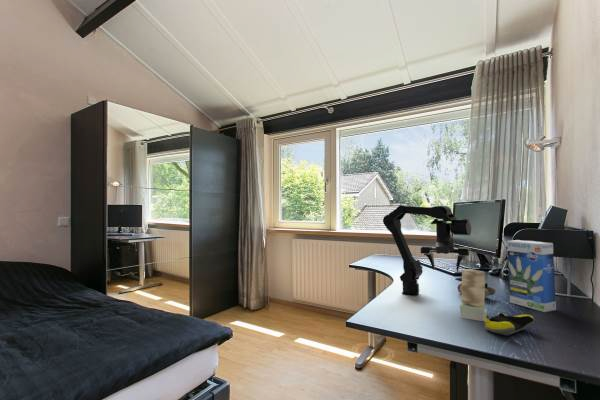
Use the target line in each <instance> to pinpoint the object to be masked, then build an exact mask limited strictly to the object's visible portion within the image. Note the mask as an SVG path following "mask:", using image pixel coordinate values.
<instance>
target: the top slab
mask: <svg viewBox="0 0 600 400" xmlns="http://www.w3.org/2000/svg"><path fill="white" fill-rule="evenodd" d="M485 309H486V304H485V303H484V305H481V306H477V307H476V306H473V305H469V304H466V303H462V302H461V303H460V304H459V312H462V313H468V314H474V315H480V316H483V314H484V312H485Z"/></svg>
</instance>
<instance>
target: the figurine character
mask: <svg viewBox="0 0 600 400" xmlns="http://www.w3.org/2000/svg"><path fill="white" fill-rule="evenodd" d="M454 279H455V281H458V282H461V283H458V286H457V291H458V292H459V293H460V294H461V295H462V277H457V278H454ZM488 284H489V283H487V282H485V300H490V298H489V296H494V295H495V294H496V293H497V292H496V288H494V287H492V286H489V285H488Z"/></svg>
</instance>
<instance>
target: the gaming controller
mask: <svg viewBox="0 0 600 400" xmlns="http://www.w3.org/2000/svg"><path fill="white" fill-rule="evenodd" d="M483 319H484V321H483V322H484V328H485V329H486V330H487V331H489V332H491V333H495V334H497V335H503V336H511V335H513V334H514V333H517V332H520V331H522V330H525V329H526V328H529V327H531V326H532V325H533V324H534V323H535V320H534V317H533V316H532V315H531V314H519V315H514V316H513V315H512V316H511V315H507V314H506V313H503V312H497V315H495V316H492V317H490V318H488V317H487V318H483Z"/></svg>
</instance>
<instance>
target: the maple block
mask: <svg viewBox="0 0 600 400" xmlns="http://www.w3.org/2000/svg"><path fill="white" fill-rule="evenodd" d="M461 278H462V281H461V283H462V294H461V298H460V302H461V303H466V304H469V305H473V306H476V307H477V306H481V305H484V304H485V301H486V299H485V283H486V271H483V270H477V269H472V268H467V269H462V270H461Z"/></svg>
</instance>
